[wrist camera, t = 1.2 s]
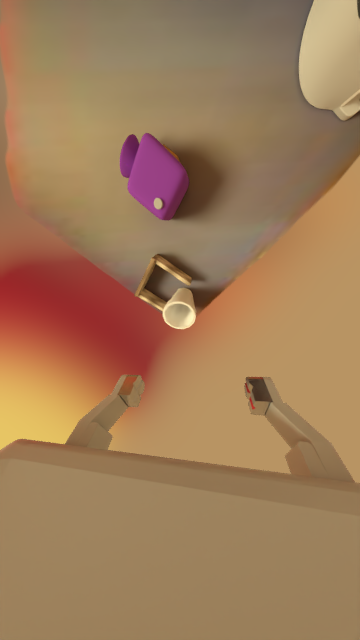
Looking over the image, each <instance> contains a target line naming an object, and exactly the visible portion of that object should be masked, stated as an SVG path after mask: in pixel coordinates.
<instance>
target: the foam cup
mask: <svg viewBox="0 0 360 640" xmlns="http://www.w3.org/2000/svg"><path fill="white" fill-rule="evenodd" d="M163 318H164V320H165V322H166V323H167V324H168V325H170V326H171V327H174V328H176V329H185V328H188V327H190V326H191V325H192V324H193V323H194V321H195V318H196V310H195V306H194V300H193V295H192V292H191V291H190V290H189V289H187V288H180V289H178V290H177V292H176V293H175V294H174V296H173V297H172V298H171V300H169V301H168V302H167V304H166V305H165V307H164V309H163Z"/></svg>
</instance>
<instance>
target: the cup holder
mask: <svg viewBox="0 0 360 640" xmlns="http://www.w3.org/2000/svg"><path fill="white" fill-rule="evenodd" d="M156 264H157V265H159V266H160V267H162V268H163V269H164V270H166V271H167V272H169V273H170V274H172V275H173V276H175V277H176V278H178V279H179V280H181V281H182V282H184V283H185V284H187V285H188V286H189V285H190V284H191V280H192V278H191V277H190V276H188V275H187V274H185V273H184V272H183V271H181V270H180V269H178V268H177V267H175V266H174V265H173V264H171V263H170V262H168V261H167V260H165V259H164V258H163V257H161V256H160V255H158V254H157V255H155V256H154V257H152V259H151V261H150V263H149V265H148V267H147V269H146V272H145V274H144V276H143V278H142V280H141V282H140V284H139V287H138V289H137V291H136V293H135V296H136V297H140V298H141V299H143V300H145V301H146V302H148V303H150V304H151V305H153V306H155V307H156V308H158V309H160V310H161V311H163V309H164V307H165V305H166V304H167V302H165V301H164V300H162V299H161V298H159V297H157V296H156V295H154V294H153V293H151V292H149V291H148V290H146V289H145V288H144V287H145V285H146V283H147V281H148V279H149V277H150V275H151V273H152V271H153V269H154V267H155V265H156Z"/></svg>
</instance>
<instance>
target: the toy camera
mask: <svg viewBox="0 0 360 640" xmlns="http://www.w3.org/2000/svg"><path fill="white" fill-rule="evenodd" d="M120 170H121V174H122V175H123V176H124V177H127V178H129V181H128V191H129V193H130V194H131V195H132V196H133V197H134V198H135V199H136V200H137V201H138V202H140V203H141V204H142V205H143V206H144V207H146V208H147V209H148V210H149V211H150V212H152V213H153V214H154V215H155V216H156V217H158V218H159V219H161V220H170V219H172V217H173V216H174V214H175V212H176V210H177V208H178V207H179V205H180V203H181V201H182V199H183V197H184V195H185V193H186V191H187V189H188V186H189V178H188V175H187V172H186V170H185V168H184V167H183V165H182V164H181V163H180V161H179V159H178V156H177V155H176V154H174V153H173V152H172V151H171V150H170V149H168V148H167V147H166V146H165V145H162V144H161V143H160V142H159V141H158V140H157V139H156V138H155V137H153V136H152V135H151V134H149V133H145V134H144V135H143V137H142V139H141V142H140V145H139V142H138V140H137V138H136V136H135V135H133V134H132V135H130V136H128V138H127V139H126V140H125V142H124V144H123V147H122V150H121V155H120Z"/></svg>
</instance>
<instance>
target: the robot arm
mask: <svg viewBox="0 0 360 640" xmlns="http://www.w3.org/2000/svg"><path fill="white" fill-rule="evenodd" d="M299 79H300V85H301V89H302V92H303V94H304V96H305V98H306V100H307V101H308V102H309V103H310V104H311V105H313V106H314V107H316V108H320V109H328V110H332V111H334V112H335V114H336V115H337V116H338V117H339V118H340V119H341V120H348V119H349V118H351V117H352V116H353V115H355V114H356V113H357V112H358V111H359V110H360V0H314V2H313V5H312V8H311V10H310V13H309V16H308V19H307V23H306V26H305V30H304V34H303V38H302V43H301V49H300V57H299ZM244 387H245V393H246V397H247V398H248V399H249V403H248V405H249V408H250V412H251V414H254V415H265V417H266V418H267V419H268V421H269V422H270V423H271V424H272V425H273V427H274V428H275V429H276V430H277V432H278V433H279V434H280V435H281V436H282V437H283V439H284V440H285V441H286V442H287V444H288V445H289V446H290V447H291V450H290V451H289V452H288V453H287V454H286V455H285V458H286V461H287V463H288V466H289V469H290V472H291V474H287V473H278V472H271V471H264V470H256V469H249V468H241V467H233V466H225V465H217V464H210V463H203V462H195V461H187V460H179V459H172V458H164V457H157V456H149V455H142V454H134V453H126V452H119V451H111V450H108V447H109V445H110V442H111V440H112V435H111V434H110V433H109V432H108V431H109V429H110V428H111V427H112V426H113V425H114V423H115V422H116V421H117V420H118V419H119V418H120V416H121V415H122V414H123V413H124V412H125V410H126V409H127V408H128V407H138V406H139V403H140V400H141V397H140V395H141V394H142V393H143V391H144V381H143V380H141V376H140V375H122V376H121V377H120V379H119V381H118V383H117V385H116V386H115V388H114V390H113V392H112V394H111V395H108V396H107V397H106V398H105V399H104V400H103V401H102V402H100V403H99V404H98V405H97V406H96V407H95V408H93V409H92V410H91V411H90V412H89V413H88V414H86V415H85V416H84V417H83V418H82V419H81V420H80V421H79V422H78V424H77V426H76V427H75V429H74V430H73V432H72V434H71V435H70V437H69V438H68V440H67V442H66V443H65V444H57V443H50V442H42V441H35V440H27V439H18V440H16V441H14V442H12V443H10V444H9V445H7V446H6V447H4V448H3V449H1V450H0V640H360V483H355V481H354V480H353V478H352V476H351V475H350V473H349V471H348V470H347V468H346V466H345V465H344V464H343V462H342V460H341V458H340V457H339V455H338V453H337V452H336V450H335V448H334V447H333V445H332V444H331V443H330V442H329V441H328V440H327V439H326V438H325V437H324V436H322V435H321V434H320V433H319V432H318V431H317V430H316V429H315V428H313V427H312V426H311V425H310V424H309V423H308V422H307V421H306V420H304V419H303V418H302V417H301V416H300V415H299V414H298V413H297V412H295V411H294V410H293V409H292V408H291V407H290V406H289V405H287V404H286V403H283V401H282V399H281V397H280V395H279V393H278V391H277V389H276V387H275V385H274V383H273V381H272V379H271V378H270V377H246V383H245V386H244Z"/></svg>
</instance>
